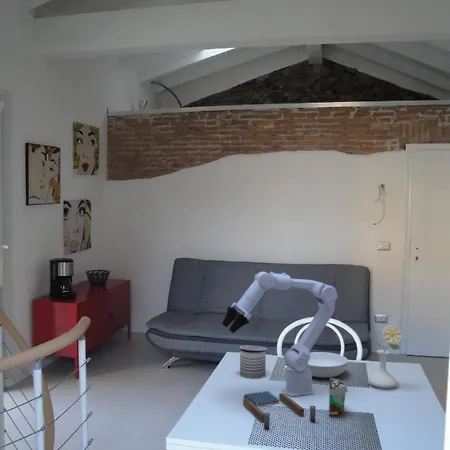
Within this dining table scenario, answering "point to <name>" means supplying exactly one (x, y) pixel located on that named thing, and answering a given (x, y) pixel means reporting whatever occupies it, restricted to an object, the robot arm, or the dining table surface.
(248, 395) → the woven mat
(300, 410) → the walled channel
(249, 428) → the dining table surface
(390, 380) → the flower in vase
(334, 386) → the food container
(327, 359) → the serving bowl
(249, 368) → the can
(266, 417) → the posts
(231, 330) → the robot arm
